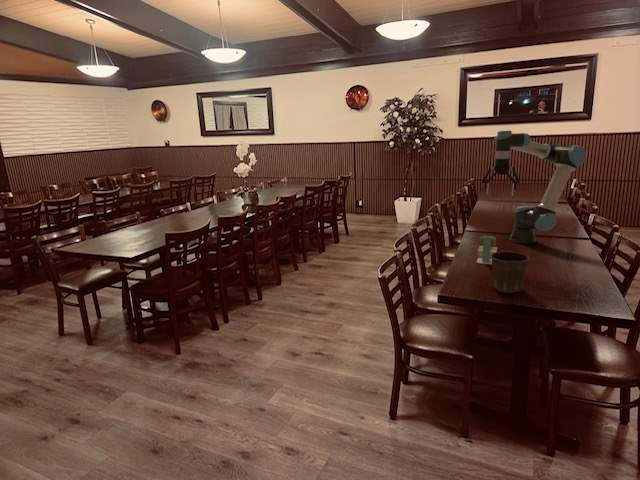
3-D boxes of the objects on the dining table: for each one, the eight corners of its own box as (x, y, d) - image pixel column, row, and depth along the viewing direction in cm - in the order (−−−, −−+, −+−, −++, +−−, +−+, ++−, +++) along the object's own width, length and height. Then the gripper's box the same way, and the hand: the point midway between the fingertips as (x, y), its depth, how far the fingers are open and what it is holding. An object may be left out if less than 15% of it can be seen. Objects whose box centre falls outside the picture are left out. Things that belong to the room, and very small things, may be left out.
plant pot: (488, 293, 193) (490, 260, 189) (488, 281, 207) (490, 250, 203) (527, 297, 187) (530, 262, 183) (524, 284, 202) (527, 252, 197)
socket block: (496, 253, 250) (497, 247, 249) (495, 258, 241) (496, 251, 240) (479, 252, 254) (479, 245, 253) (477, 256, 245) (478, 250, 244)
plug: (490, 259, 237) (491, 236, 234) (489, 262, 234) (491, 238, 230) (482, 259, 239) (483, 235, 236) (481, 261, 235) (482, 237, 232)
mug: (488, 250, 249) (488, 234, 251) (475, 252, 259) (475, 236, 260) (503, 251, 255) (502, 235, 256) (490, 252, 264) (489, 237, 265)
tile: (494, 260, 239) (494, 259, 238) (493, 264, 231) (493, 263, 231) (478, 258, 242) (478, 257, 242) (476, 263, 234) (476, 262, 234)
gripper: (478, 158, 242) (476, 195, 247) (526, 158, 232) (523, 196, 237) (479, 157, 248) (477, 193, 254) (526, 157, 238) (523, 194, 244)
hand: (499, 194), depth 246 cm, fingers open, 13 cm apart
